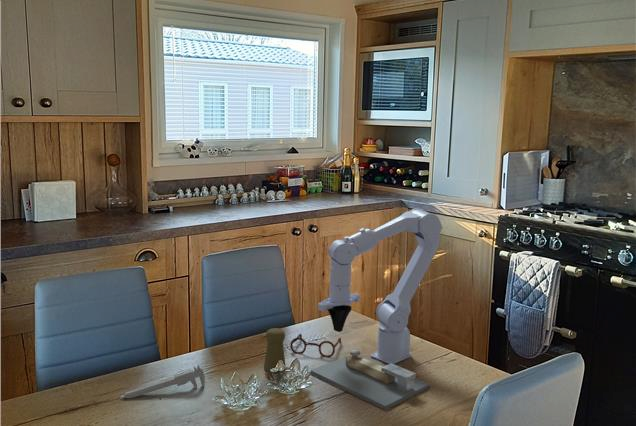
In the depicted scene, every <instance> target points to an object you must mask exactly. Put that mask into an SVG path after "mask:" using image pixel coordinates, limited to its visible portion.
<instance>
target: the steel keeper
mask: <svg viewBox="0 0 636 426" xmlns="http://www.w3.org/2000/svg"><path fill="white" fill-rule="evenodd" d="M381 371H382V372H385V373H387V374H389V375H392V376H394V377H396V378H398V381H397V389H400V390H402V391H404V392H406V393H407V392H409V391H411V390H413V389H414V378H416V377H417V376H416V375H417V373H416V372H414V371H411V370H409V369H406V368H403V367H402V366H399V365H396V364H392V363H391V364H388V363H387V364H386V365H385V366H384V367H382V368H381Z"/></svg>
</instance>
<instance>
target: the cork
mask: <svg viewBox="0 0 636 426" xmlns="http://www.w3.org/2000/svg"><path fill="white" fill-rule="evenodd" d="M265 338H266V339H265V340H266V341H267V342H266V343H267V344H266V350H265V356H264V357H265V358H264V363H263V370H264V371H265V372H268V373H270V372H269V371H270V369H272V368H275V367H276V365H277V363H278V361H279V360H282V361H283V363H284V365H285V366H286V360H285V357H286V356H285V350H284V341H285V338H286V334H285V331H284V330H283V329H282V328H277V327H275V328H269V329H268V330H266V333H265Z"/></svg>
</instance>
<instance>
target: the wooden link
mask: <svg viewBox="0 0 636 426" xmlns="http://www.w3.org/2000/svg"><path fill="white" fill-rule="evenodd" d="M362 356H363V355H362ZM362 356H361V351H360V350H358V349H351V350H350V351H349V354H348V355H347V356H345V357H346V365H347V367H349V368H351V369H356V370H358V371H361V372H363V373H365V374H367V375H370V376H372V377H374V378H376V379H378V380H381V381H383V382H385V383H387V384H388V383H390V382H392V381H395V377H394V376H392V375H389V374H387V373H385V372H382V371H381V368H382V367H383V366H381V365H379V364H376V363H374V362H372V361H369V360H367V359H365V358H363V357H362Z"/></svg>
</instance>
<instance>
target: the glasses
mask: <svg viewBox="0 0 636 426" xmlns="http://www.w3.org/2000/svg"><path fill="white" fill-rule="evenodd" d="M297 341H301V342H302V343H303V346H304V347H303V349H302V351H296V350H295V349H294V347H293V344H294V343H296V342H297ZM339 343H342V338H341V337H338V339H337V341H336V342H335V343H333V342H331V341H329V340H324V341H321V342H320V343H315V342H307V341H306V340H305V339H303V335H302V333H299V334H298V335H297V337H294V338H293V339H292V340H291V341H290V349H291V352H292V353H294V354H296V355H297V354H299V355H301V354H303V353H305V351H306V349H307V346H316V347H318V352H319V355H320V356H321V357H323V358H331V357H333V355H334V354H335V352H336V347H337V346H338V345H339ZM324 344H329V345H330V346H331V348H332V352H331V353H330V354H329V355H327V354H324V353H322V349H321V348H322V345H324Z"/></svg>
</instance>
